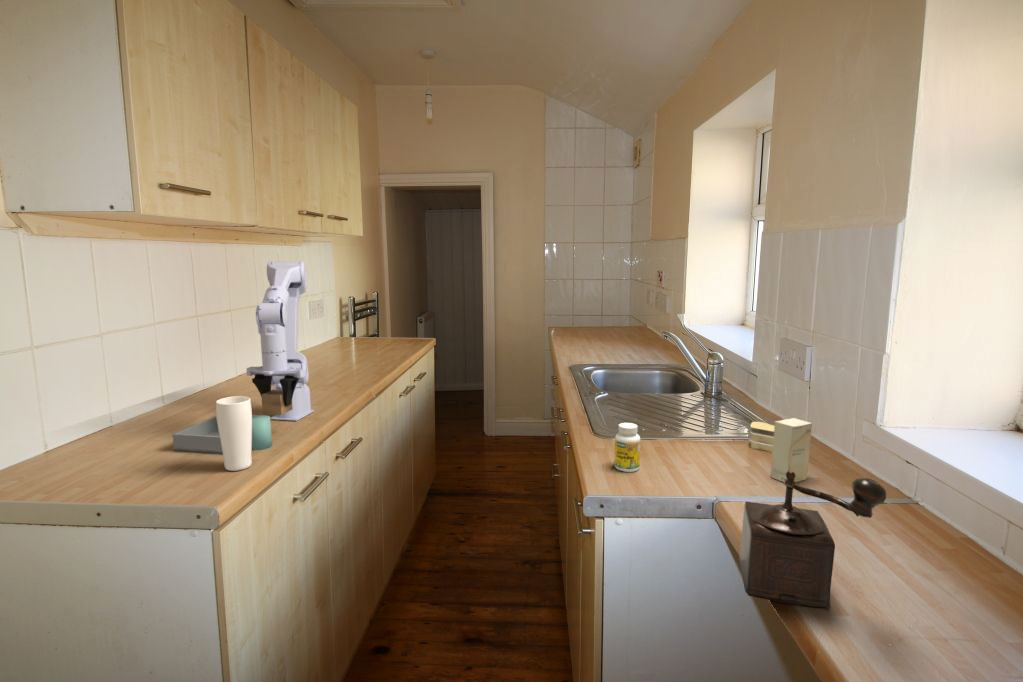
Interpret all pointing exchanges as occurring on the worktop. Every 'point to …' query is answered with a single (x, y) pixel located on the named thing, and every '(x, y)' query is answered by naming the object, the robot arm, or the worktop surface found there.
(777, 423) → the skincare box
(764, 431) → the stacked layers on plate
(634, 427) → the supplement bottle
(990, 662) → the worktop surface
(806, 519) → the manual coffee grinder
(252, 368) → the robot arm
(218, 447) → the tray
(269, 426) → the teal cylinder
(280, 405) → the walnut cube
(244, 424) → the drinking glass
